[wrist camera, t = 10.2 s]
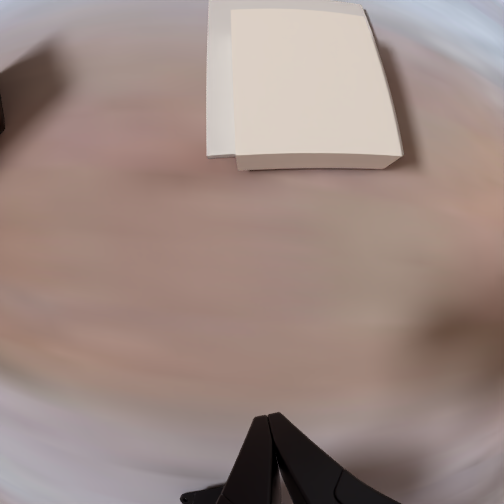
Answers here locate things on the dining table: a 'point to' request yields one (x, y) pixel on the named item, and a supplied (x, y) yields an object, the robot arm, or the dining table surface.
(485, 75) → the dining table surface
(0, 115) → the dark brown boxy piece
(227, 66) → the mat
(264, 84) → the beige rectangular block
